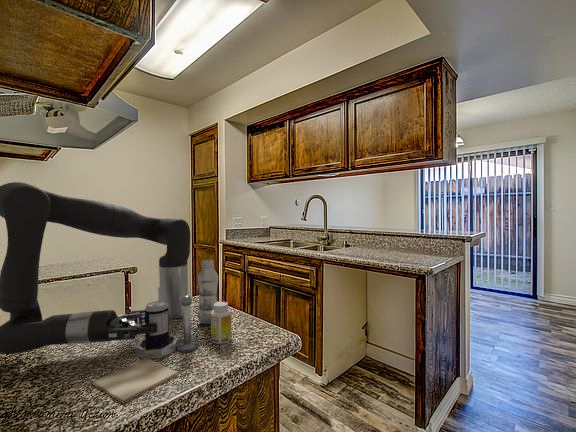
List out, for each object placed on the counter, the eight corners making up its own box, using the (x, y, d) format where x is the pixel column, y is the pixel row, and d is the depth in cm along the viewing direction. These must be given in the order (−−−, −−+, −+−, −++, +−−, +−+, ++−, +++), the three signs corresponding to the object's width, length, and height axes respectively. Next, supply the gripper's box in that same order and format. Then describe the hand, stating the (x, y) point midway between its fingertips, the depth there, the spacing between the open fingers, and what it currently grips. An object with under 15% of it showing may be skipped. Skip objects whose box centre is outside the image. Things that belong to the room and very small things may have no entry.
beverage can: (173, 345, 84) (172, 300, 83) (162, 354, 78) (161, 307, 78) (152, 344, 84) (152, 300, 84) (141, 354, 79) (140, 307, 78)
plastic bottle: (209, 317, 104) (208, 258, 103) (223, 322, 100) (222, 260, 99) (193, 323, 99) (192, 261, 98) (207, 328, 95) (206, 263, 94)
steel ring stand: (129, 351, 80) (128, 299, 79) (173, 334, 91) (172, 288, 90) (160, 366, 73) (158, 308, 72) (203, 345, 83) (203, 294, 83)
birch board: (92, 383, 65) (92, 381, 65) (146, 360, 75) (146, 357, 75) (123, 403, 59) (123, 400, 59) (177, 374, 69) (177, 372, 69)
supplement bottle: (233, 336, 89) (232, 300, 89) (229, 344, 84) (228, 307, 83) (213, 336, 89) (213, 300, 89) (208, 344, 84) (208, 307, 83)
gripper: (78, 322, 71) (154, 316, 74) (103, 303, 85) (165, 299, 88) (79, 354, 71) (154, 347, 74) (104, 330, 85) (166, 325, 88)
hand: (160, 321), depth 81 cm, fingers open, 8 cm apart
